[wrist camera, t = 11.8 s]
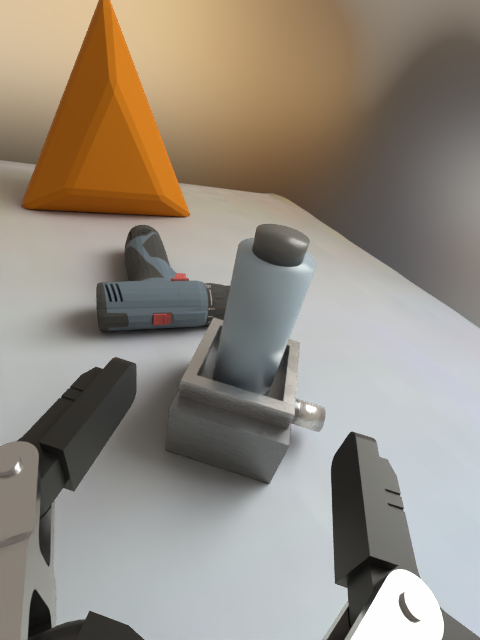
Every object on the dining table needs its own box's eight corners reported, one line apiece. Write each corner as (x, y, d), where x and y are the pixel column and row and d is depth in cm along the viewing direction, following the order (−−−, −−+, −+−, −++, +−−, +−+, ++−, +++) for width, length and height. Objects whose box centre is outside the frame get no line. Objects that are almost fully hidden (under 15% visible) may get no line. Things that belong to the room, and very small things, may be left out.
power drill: (222, 258, 52) (266, 333, 37) (103, 254, 45) (99, 344, 30) (227, 228, 48) (277, 297, 34) (100, 219, 42) (95, 300, 27)
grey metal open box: (165, 450, 22) (170, 392, 19) (205, 361, 30) (215, 309, 27) (309, 496, 22) (345, 446, 18) (311, 393, 30) (336, 344, 26)
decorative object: (20, 219, 48) (-47, -68, 31) (27, 190, 59) (-20, -36, 42) (197, 226, 61) (219, 27, 44) (176, 201, 72) (188, 33, 55)
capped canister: (206, 386, 21) (233, 237, 15) (222, 346, 25) (250, 213, 19) (268, 405, 21) (324, 261, 15) (275, 362, 25) (323, 232, 18)
